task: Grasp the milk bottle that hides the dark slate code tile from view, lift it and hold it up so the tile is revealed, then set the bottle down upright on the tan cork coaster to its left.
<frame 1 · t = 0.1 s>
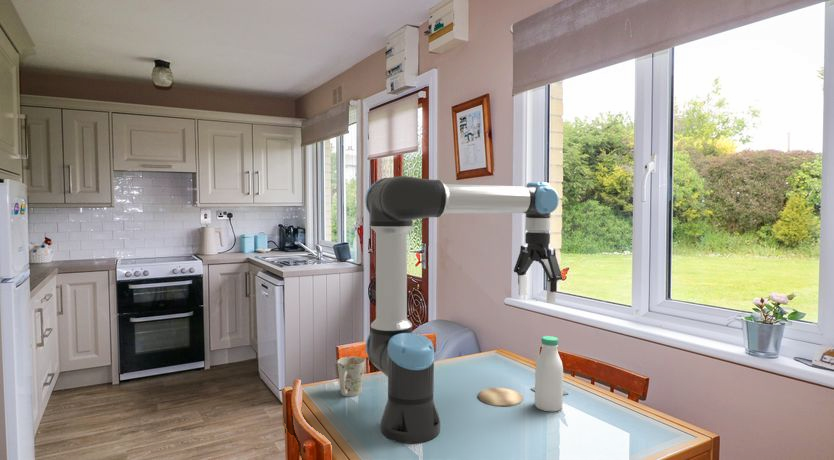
hand: (536, 298, 157), 28 cm above the table, fingers open, 13 cm apart
coaster: (500, 397, 148), on the table
milk bottle: (548, 407, 141), on the table
mug: (349, 396, 149), on the table
code tile: (549, 392, 153), on the table
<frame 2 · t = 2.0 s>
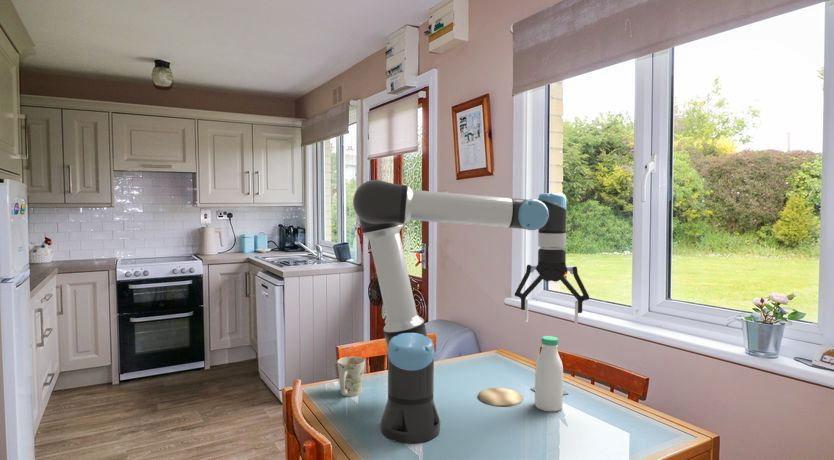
hand: (550, 322, 140), 24 cm above the table, fingers open, 13 cm apart
nothing on the table moved.
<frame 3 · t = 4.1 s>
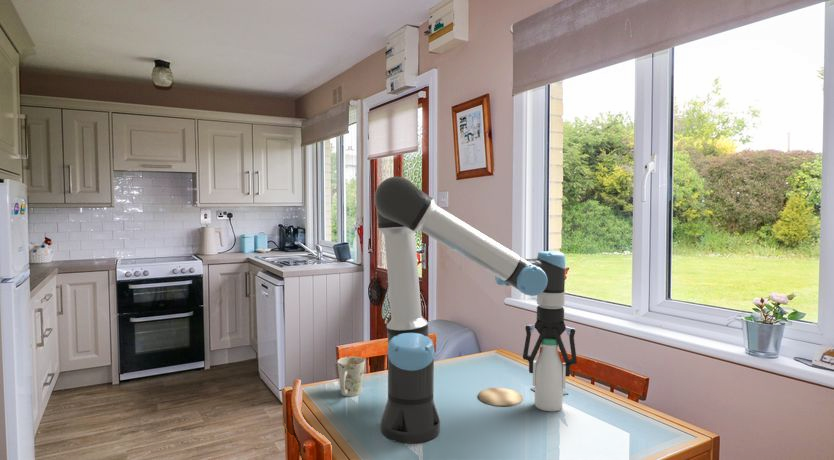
hand: (548, 385, 141), 6 cm above the table, fingers closed on milk bottle, 7 cm apart
milk bottle: (548, 407, 141), on the table, touching gripper
everything else where it was.
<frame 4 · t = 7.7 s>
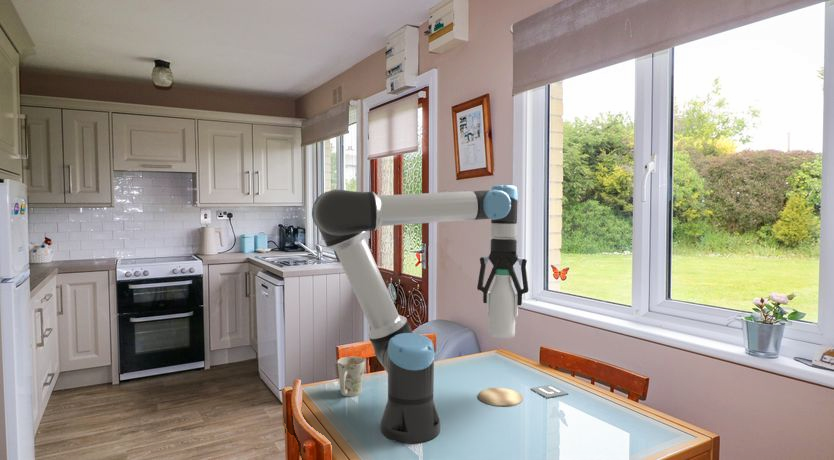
hand: (502, 315, 146), 25 cm above the table, fingers closed on milk bottle, 7 cm apart
milk bottle: (501, 336, 147), point 19 cm above the table, touching gripper
everything else where it was.
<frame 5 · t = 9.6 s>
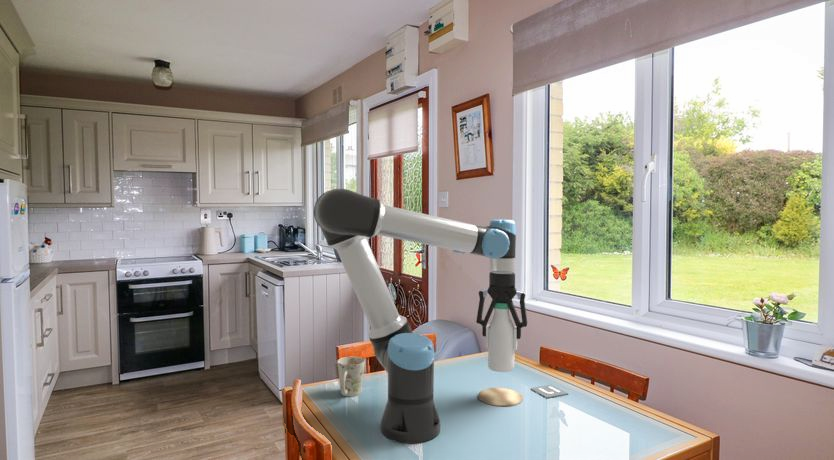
hand: (501, 348, 147), 15 cm above the table, fingers closed on milk bottle, 7 cm apart
milk bottle: (501, 369, 148), point 9 cm above the table, touching gripper
everything else where it was.
when the fingers open (8 cm above the table, at t = 11.4 s): milk bottle drops 1 cm, resting on coaster.
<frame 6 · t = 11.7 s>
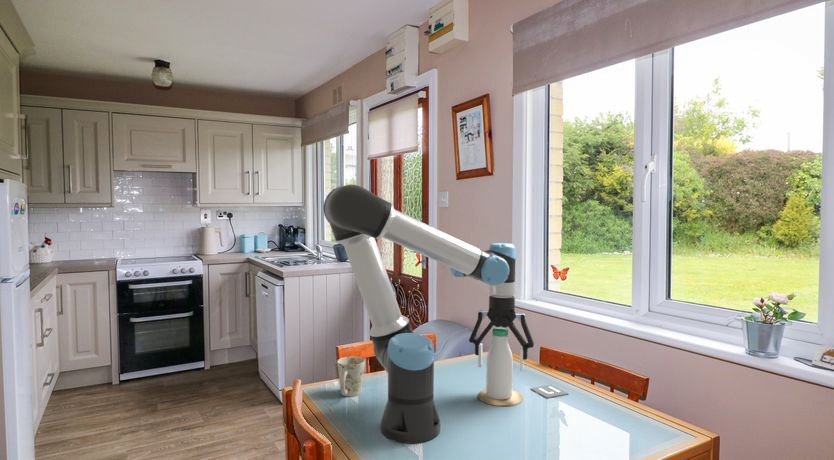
hand: (500, 368, 147), 9 cm above the table, fingers open, 11 cm apart
milk bottle: (499, 396, 148), resting on coaster
everything else where it was.
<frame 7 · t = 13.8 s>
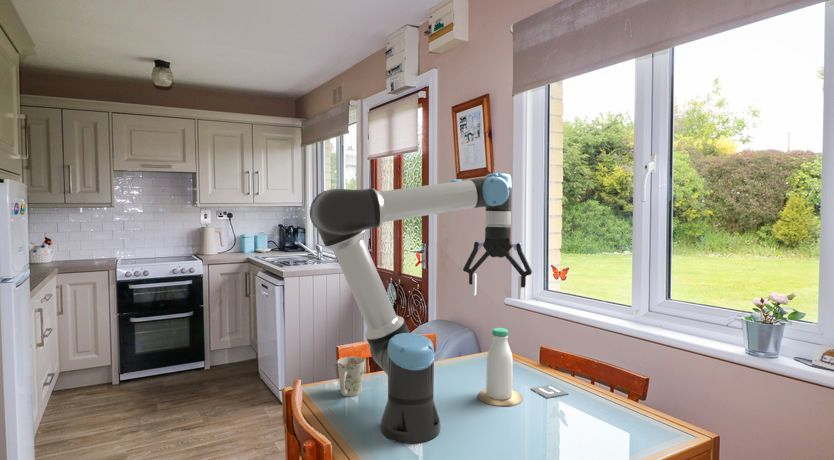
hand: (496, 296, 148), 30 cm above the table, fingers open, 13 cm apart
nothing on the table moved.
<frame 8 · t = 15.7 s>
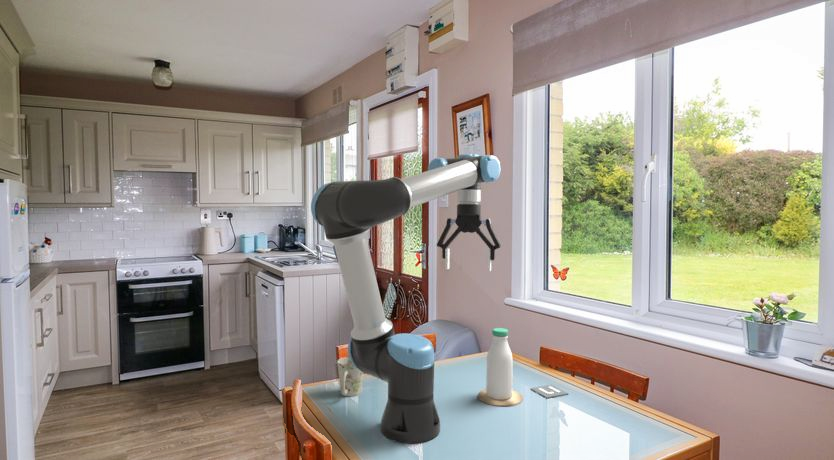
hand: (468, 269, 159), 37 cm above the table, fingers open, 13 cm apart
nothing on the table moved.
at the end: milk bottle inside the target area on the coaster (0.4 cm from its centre), point 0.4 cm above the coaster's base; milk bottle tilted 0°; milk bottle moved 14.5 cm from its start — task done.
